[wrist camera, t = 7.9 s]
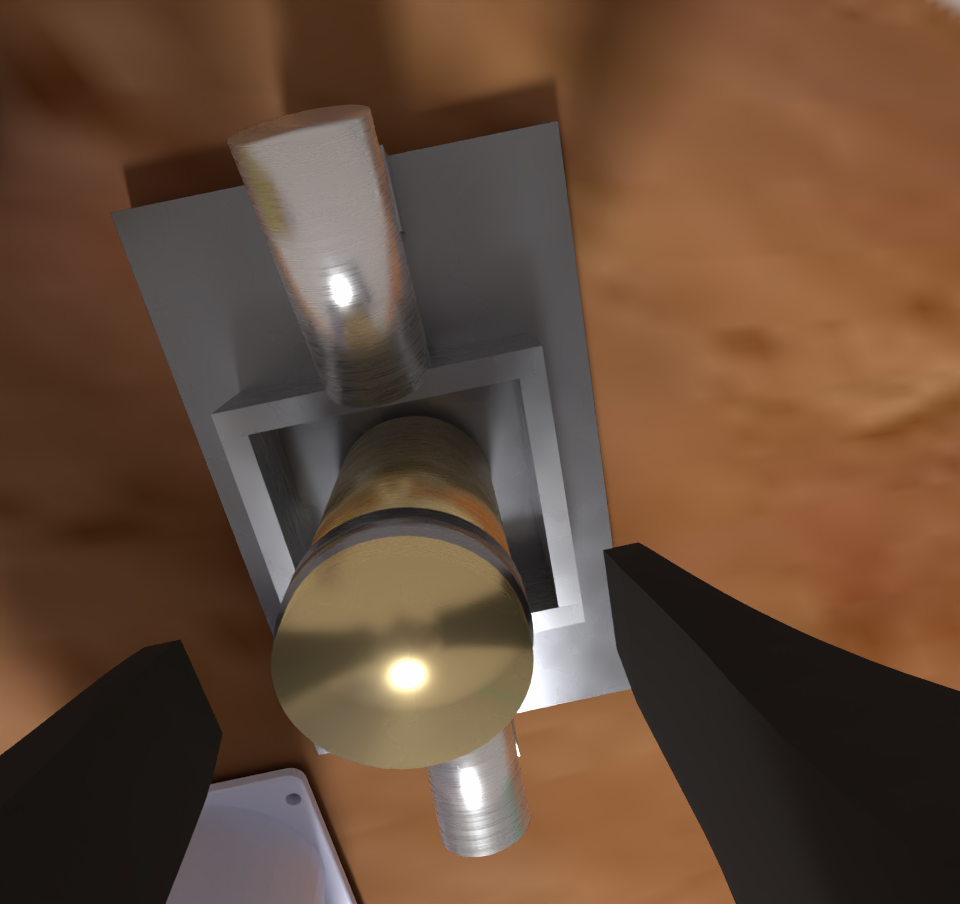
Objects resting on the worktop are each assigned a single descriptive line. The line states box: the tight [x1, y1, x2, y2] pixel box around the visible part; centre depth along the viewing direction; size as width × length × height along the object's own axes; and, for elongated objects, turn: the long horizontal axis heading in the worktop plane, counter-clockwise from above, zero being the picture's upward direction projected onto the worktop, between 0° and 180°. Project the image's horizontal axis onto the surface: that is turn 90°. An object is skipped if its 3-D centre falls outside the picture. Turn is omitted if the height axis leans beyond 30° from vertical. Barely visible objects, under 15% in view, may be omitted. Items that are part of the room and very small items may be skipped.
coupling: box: [271, 416, 534, 769], centre depth 12 cm, size 4×4×7 cm
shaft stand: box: [111, 105, 631, 857], centre depth 14 cm, size 17×10×5 cm, turn 11°
